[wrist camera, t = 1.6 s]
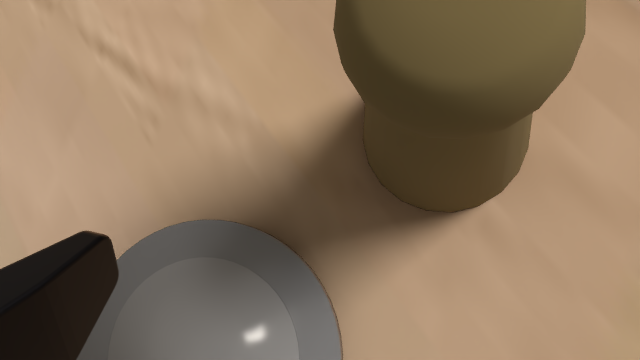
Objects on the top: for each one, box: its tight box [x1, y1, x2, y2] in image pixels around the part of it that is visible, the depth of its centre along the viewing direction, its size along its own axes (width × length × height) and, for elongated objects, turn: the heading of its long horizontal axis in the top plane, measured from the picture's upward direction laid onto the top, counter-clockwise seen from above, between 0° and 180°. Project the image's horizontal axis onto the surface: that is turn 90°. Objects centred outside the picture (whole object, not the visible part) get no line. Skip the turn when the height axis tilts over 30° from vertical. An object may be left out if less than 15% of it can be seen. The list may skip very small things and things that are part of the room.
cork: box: [333, 0, 586, 212], centre depth 16 cm, size 6×6×11 cm
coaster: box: [77, 220, 343, 360], centre depth 21 cm, size 10×10×1 cm
